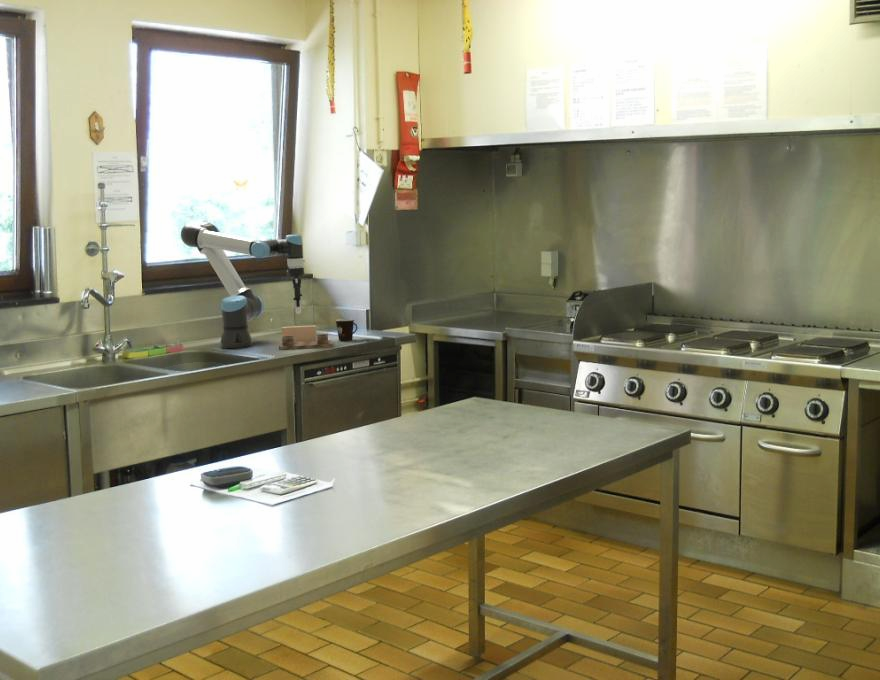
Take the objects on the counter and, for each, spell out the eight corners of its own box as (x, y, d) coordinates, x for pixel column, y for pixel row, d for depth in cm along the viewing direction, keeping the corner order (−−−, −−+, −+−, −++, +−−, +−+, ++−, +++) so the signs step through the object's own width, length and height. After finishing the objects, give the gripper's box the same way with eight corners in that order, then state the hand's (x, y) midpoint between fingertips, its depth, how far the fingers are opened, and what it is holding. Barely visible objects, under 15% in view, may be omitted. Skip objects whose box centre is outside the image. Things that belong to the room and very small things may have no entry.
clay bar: (282, 344, 489) (282, 327, 488) (283, 343, 492) (282, 326, 490) (316, 342, 491) (315, 326, 489) (316, 341, 494) (315, 325, 492)
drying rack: (279, 350, 471) (278, 339, 471) (280, 346, 483) (279, 335, 482) (331, 347, 474) (331, 336, 473) (331, 343, 486) (330, 333, 485)
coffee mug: (334, 340, 496) (333, 319, 494) (351, 338, 499) (350, 318, 498) (342, 343, 485) (341, 322, 484) (359, 341, 489) (358, 320, 488)
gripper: (303, 268, 474) (306, 314, 477) (304, 265, 498) (306, 308, 501) (287, 269, 473) (290, 315, 476) (288, 265, 497) (291, 309, 501)
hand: (298, 312), depth 489 cm, fingers open, 13 cm apart
